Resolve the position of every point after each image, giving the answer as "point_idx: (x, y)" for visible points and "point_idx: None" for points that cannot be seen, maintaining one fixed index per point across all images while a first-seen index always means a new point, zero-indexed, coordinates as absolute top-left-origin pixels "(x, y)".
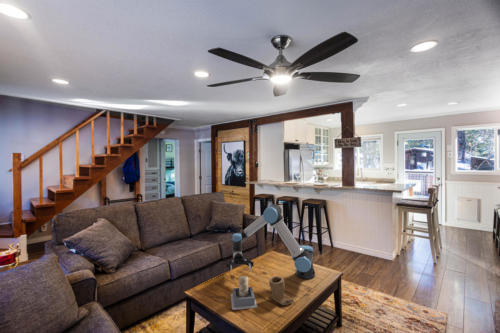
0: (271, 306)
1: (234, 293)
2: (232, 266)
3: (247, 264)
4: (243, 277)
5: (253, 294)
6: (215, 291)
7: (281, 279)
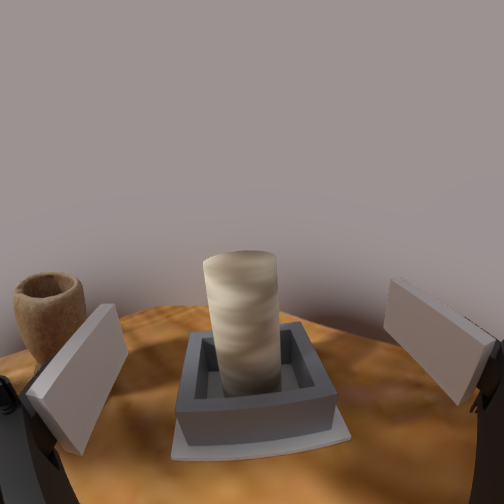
0: (126, 362)
1: (310, 353)
2: (479, 447)
3: (67, 497)
4: (239, 262)
5: (188, 349)
6: (465, 442)
7: (33, 277)
